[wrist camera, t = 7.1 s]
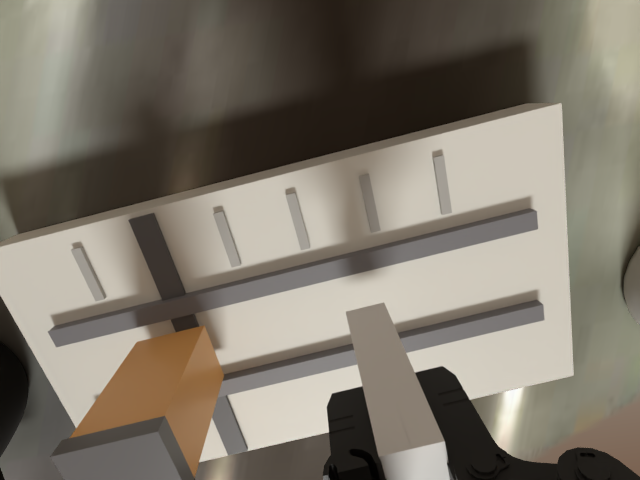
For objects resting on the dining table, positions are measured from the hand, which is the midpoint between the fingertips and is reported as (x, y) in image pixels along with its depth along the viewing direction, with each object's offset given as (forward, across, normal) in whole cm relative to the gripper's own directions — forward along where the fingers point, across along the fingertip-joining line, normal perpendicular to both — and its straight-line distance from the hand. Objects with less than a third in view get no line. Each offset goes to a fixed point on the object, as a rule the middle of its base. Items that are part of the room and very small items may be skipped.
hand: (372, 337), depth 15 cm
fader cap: (+2, -8, 0) cm, 8 cm away
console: (+5, -3, 0) cm, 6 cm away
